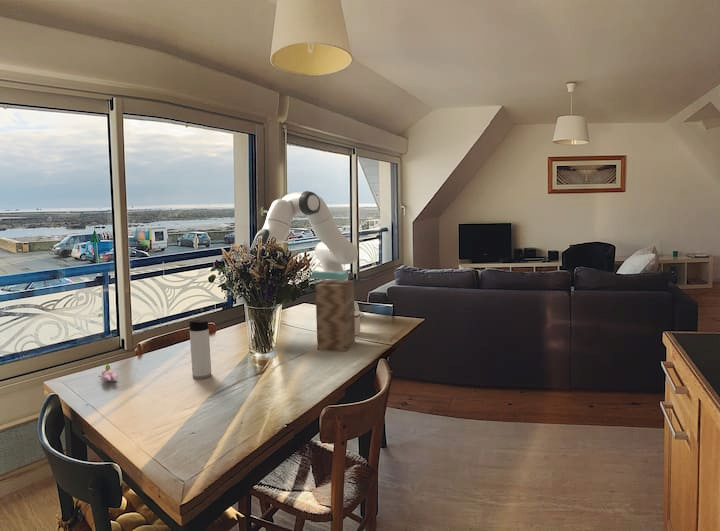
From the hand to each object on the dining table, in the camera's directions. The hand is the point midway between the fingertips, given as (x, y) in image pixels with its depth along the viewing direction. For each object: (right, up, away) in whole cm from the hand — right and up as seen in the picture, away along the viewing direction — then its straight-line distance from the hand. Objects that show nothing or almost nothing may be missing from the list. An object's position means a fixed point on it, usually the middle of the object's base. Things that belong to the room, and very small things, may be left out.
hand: (310, 274), depth 209 cm
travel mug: (-35, -35, -32) cm, 59 cm away
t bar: (+5, -2, -1) cm, 6 cm away
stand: (+10, -29, +2) cm, 31 cm away
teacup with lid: (+14, -27, +20) cm, 37 cm away
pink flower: (-65, -36, -35) cm, 82 cm away
